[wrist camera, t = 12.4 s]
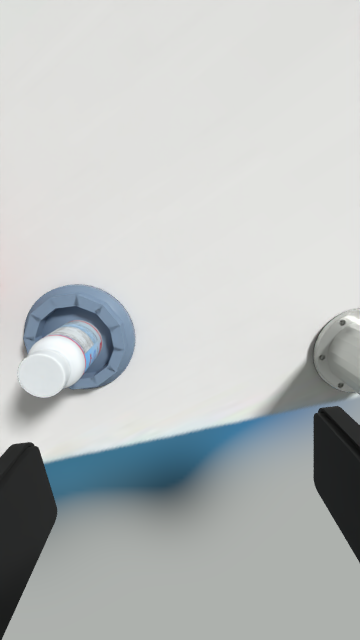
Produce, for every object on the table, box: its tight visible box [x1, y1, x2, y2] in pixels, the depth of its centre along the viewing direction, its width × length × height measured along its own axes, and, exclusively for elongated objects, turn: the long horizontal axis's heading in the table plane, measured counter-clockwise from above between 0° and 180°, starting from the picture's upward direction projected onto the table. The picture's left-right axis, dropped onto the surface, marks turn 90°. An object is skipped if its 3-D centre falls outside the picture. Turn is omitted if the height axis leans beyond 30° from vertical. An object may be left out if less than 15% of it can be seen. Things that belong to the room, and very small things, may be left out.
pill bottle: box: [17, 320, 103, 398], centre depth 31 cm, size 6×6×11 cm
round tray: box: [23, 284, 135, 389], centre depth 36 cm, size 15×15×3 cm
